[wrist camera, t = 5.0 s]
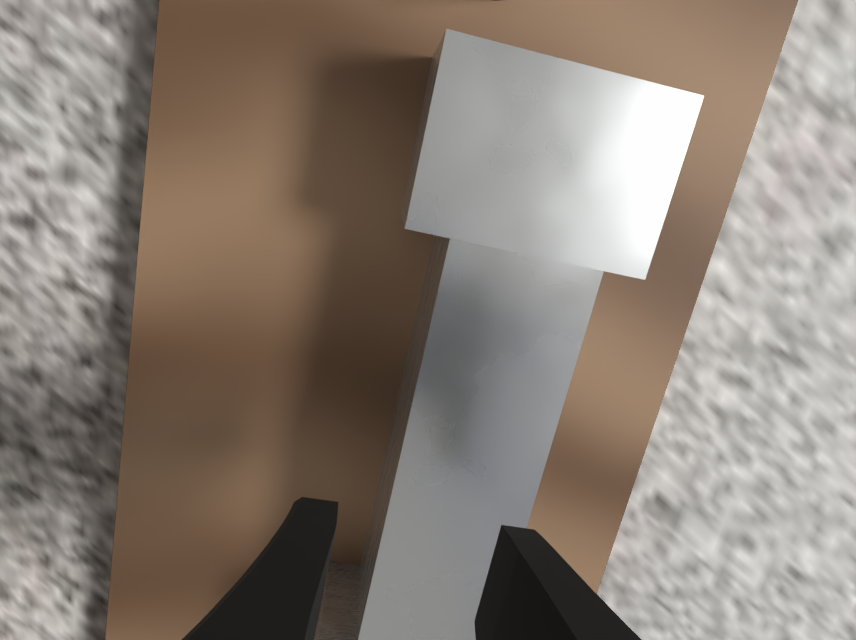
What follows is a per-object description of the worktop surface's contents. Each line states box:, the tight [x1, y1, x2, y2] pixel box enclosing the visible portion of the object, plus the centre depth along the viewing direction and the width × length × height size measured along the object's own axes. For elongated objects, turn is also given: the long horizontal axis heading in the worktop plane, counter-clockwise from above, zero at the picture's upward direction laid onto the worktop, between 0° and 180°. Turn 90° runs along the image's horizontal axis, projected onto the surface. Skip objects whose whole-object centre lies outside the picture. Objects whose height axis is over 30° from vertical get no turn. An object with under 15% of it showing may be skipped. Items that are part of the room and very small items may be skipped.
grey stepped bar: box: [314, 29, 704, 640], centre depth 14 cm, size 17×5×3 cm, turn 168°
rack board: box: [105, 0, 798, 640], centre depth 15 cm, size 26×14×4 cm, turn 168°
